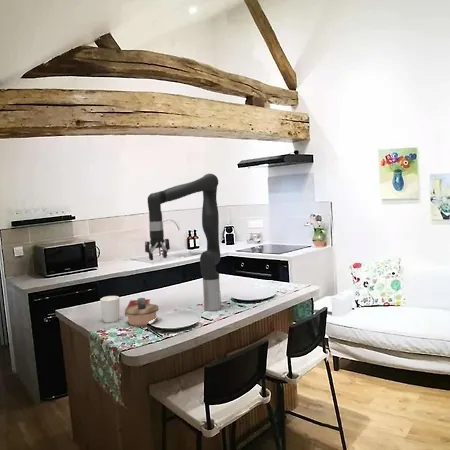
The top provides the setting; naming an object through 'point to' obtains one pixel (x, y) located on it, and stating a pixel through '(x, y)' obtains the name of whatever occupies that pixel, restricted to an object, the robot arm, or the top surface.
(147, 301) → the hardcover book
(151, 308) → the lid
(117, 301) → the candle holder
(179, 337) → the top surface
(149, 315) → the bowl
